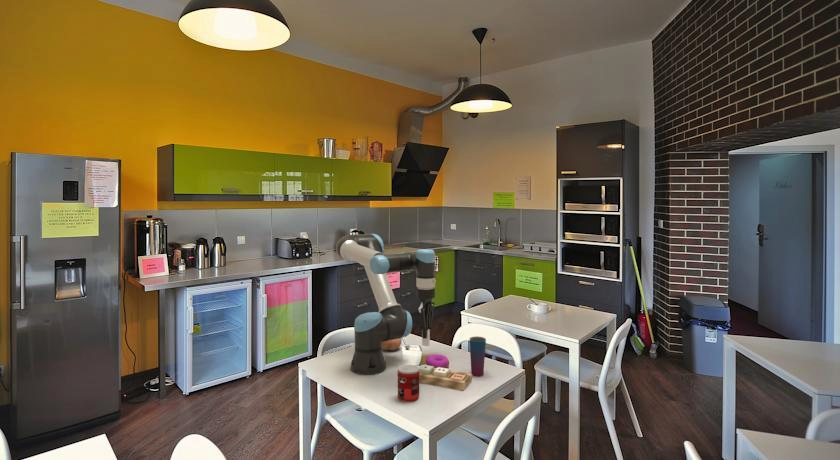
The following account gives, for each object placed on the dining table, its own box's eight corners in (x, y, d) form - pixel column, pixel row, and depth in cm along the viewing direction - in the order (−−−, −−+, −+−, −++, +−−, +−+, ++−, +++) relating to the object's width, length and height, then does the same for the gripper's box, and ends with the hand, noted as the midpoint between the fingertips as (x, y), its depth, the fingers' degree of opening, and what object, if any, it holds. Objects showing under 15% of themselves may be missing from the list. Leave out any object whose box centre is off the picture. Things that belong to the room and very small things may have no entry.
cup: (485, 377, 183) (485, 341, 182) (468, 376, 185) (468, 340, 184) (486, 371, 190) (486, 336, 189) (470, 370, 191) (470, 336, 190)
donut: (436, 373, 189) (437, 362, 189) (420, 366, 196) (420, 356, 196) (453, 367, 196) (453, 356, 195) (437, 360, 203) (437, 351, 203)
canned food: (397, 393, 168) (397, 364, 168) (418, 392, 169) (418, 364, 168) (398, 402, 161) (397, 372, 160) (420, 401, 161) (420, 372, 161)
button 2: (433, 376, 179) (433, 370, 178) (438, 372, 183) (438, 366, 183) (445, 378, 176) (445, 372, 176) (449, 374, 181) (449, 368, 181)
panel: (411, 381, 180) (411, 373, 180) (421, 372, 189) (421, 365, 189) (463, 390, 171) (463, 382, 171) (471, 381, 180) (471, 373, 180)
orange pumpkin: (401, 352, 213) (401, 336, 213) (378, 353, 213) (378, 336, 213) (401, 345, 224) (401, 330, 224) (380, 345, 224) (380, 330, 224)
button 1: (417, 373, 181) (417, 368, 181) (422, 369, 186) (422, 364, 186) (428, 375, 179) (428, 370, 179) (433, 371, 184) (433, 365, 184)
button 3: (449, 383, 176) (449, 377, 176) (454, 378, 180) (454, 372, 180) (462, 385, 174) (462, 379, 174) (466, 380, 178) (466, 374, 178)
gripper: (428, 291, 173) (428, 351, 174) (440, 285, 185) (440, 341, 186) (410, 290, 176) (410, 348, 177) (423, 284, 188) (423, 339, 189)
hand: (425, 345), depth 182 cm, fingers closed
